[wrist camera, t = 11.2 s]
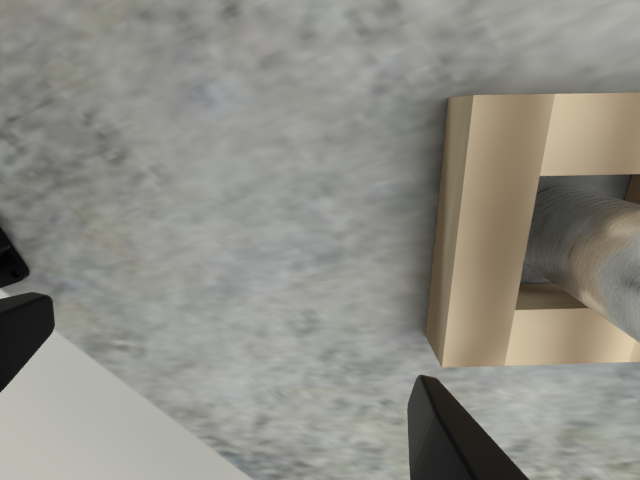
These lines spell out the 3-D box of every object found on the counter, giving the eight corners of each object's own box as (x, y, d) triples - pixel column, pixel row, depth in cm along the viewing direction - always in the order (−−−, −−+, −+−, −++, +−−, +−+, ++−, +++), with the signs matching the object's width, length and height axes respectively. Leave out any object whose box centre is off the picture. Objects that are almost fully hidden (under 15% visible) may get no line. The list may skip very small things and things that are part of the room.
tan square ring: (425, 336, 23) (441, 367, 20) (448, 97, 18) (473, 95, 15) (643, 329, 23) (689, 360, 20) (720, 93, 18) (794, 90, 16)
